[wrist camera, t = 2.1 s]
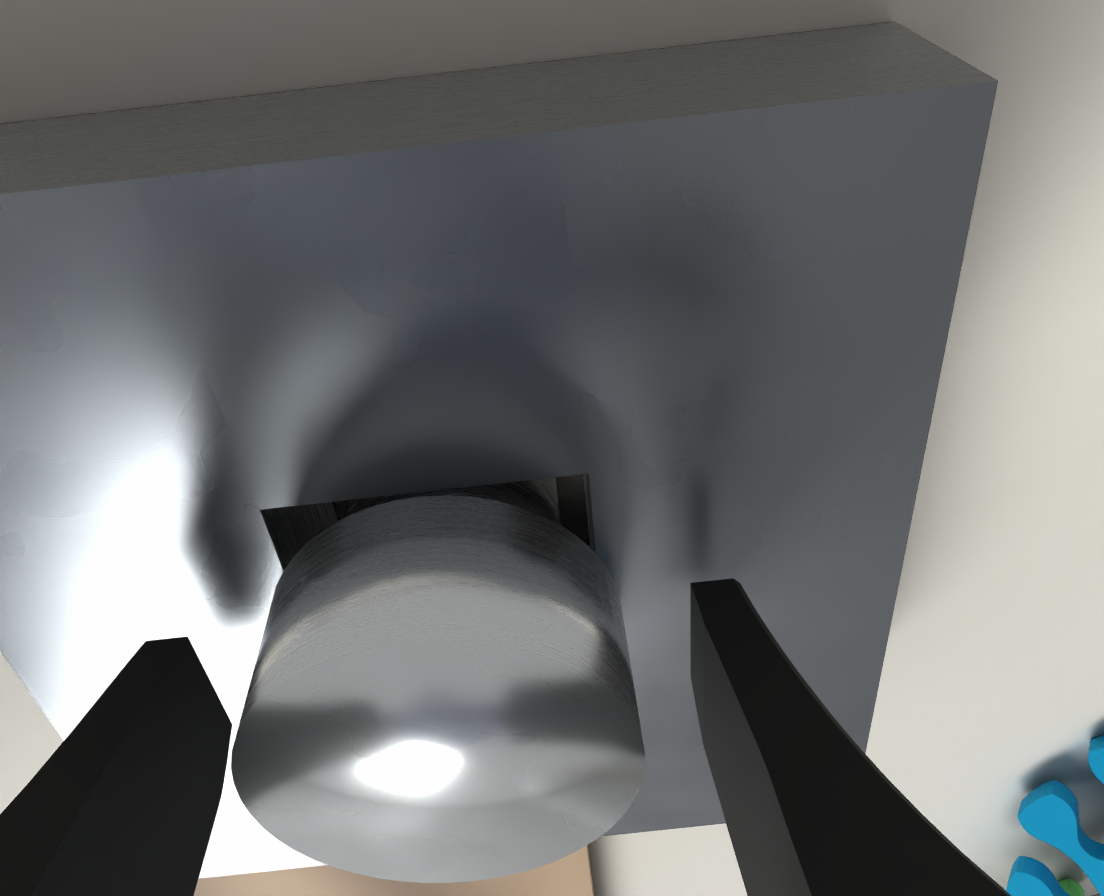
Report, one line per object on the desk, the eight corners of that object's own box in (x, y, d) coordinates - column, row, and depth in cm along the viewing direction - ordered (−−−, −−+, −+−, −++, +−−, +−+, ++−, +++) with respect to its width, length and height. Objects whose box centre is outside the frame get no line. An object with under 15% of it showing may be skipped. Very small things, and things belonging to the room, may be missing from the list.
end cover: (347, 598, 18) (294, 899, 13) (274, 378, 15) (169, 667, 10) (606, 569, 18) (651, 862, 13) (589, 342, 15) (637, 616, 10)
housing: (201, 753, 20) (163, 882, 18) (-140, 140, 12) (-299, 228, 10) (810, 688, 20) (854, 809, 18) (894, 21, 12) (997, 81, 9)
